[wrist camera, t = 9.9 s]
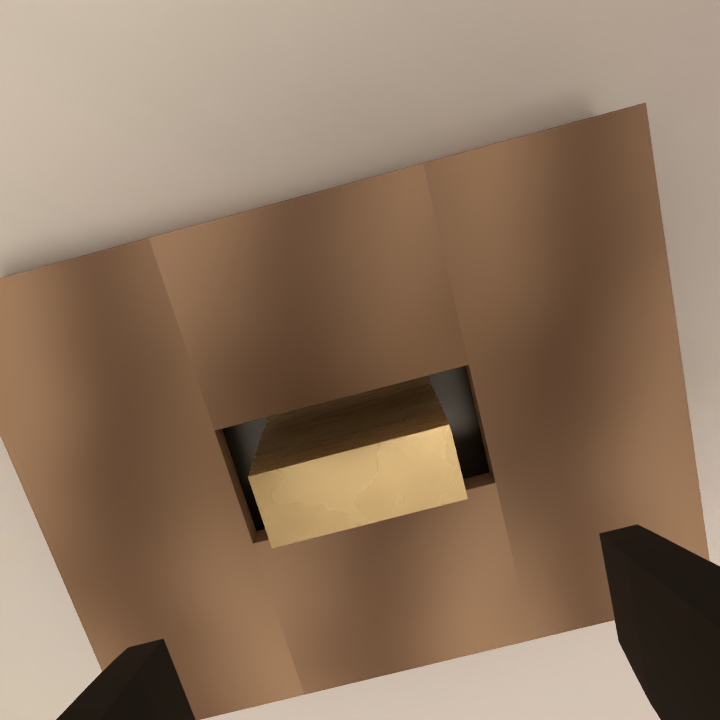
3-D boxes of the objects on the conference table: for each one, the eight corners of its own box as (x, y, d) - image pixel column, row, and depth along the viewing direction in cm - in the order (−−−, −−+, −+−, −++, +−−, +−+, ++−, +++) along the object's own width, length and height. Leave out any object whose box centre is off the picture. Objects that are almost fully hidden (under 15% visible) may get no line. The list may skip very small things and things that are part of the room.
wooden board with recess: (596, 118, 18) (645, 102, 15) (664, 542, 22) (714, 595, 19) (2, 280, 19) (-61, 294, 16) (158, 666, 22) (130, 736, 19)
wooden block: (424, 369, 20) (449, 424, 15) (438, 427, 20) (467, 498, 16) (270, 409, 20) (247, 476, 15) (288, 466, 21) (271, 547, 16)
